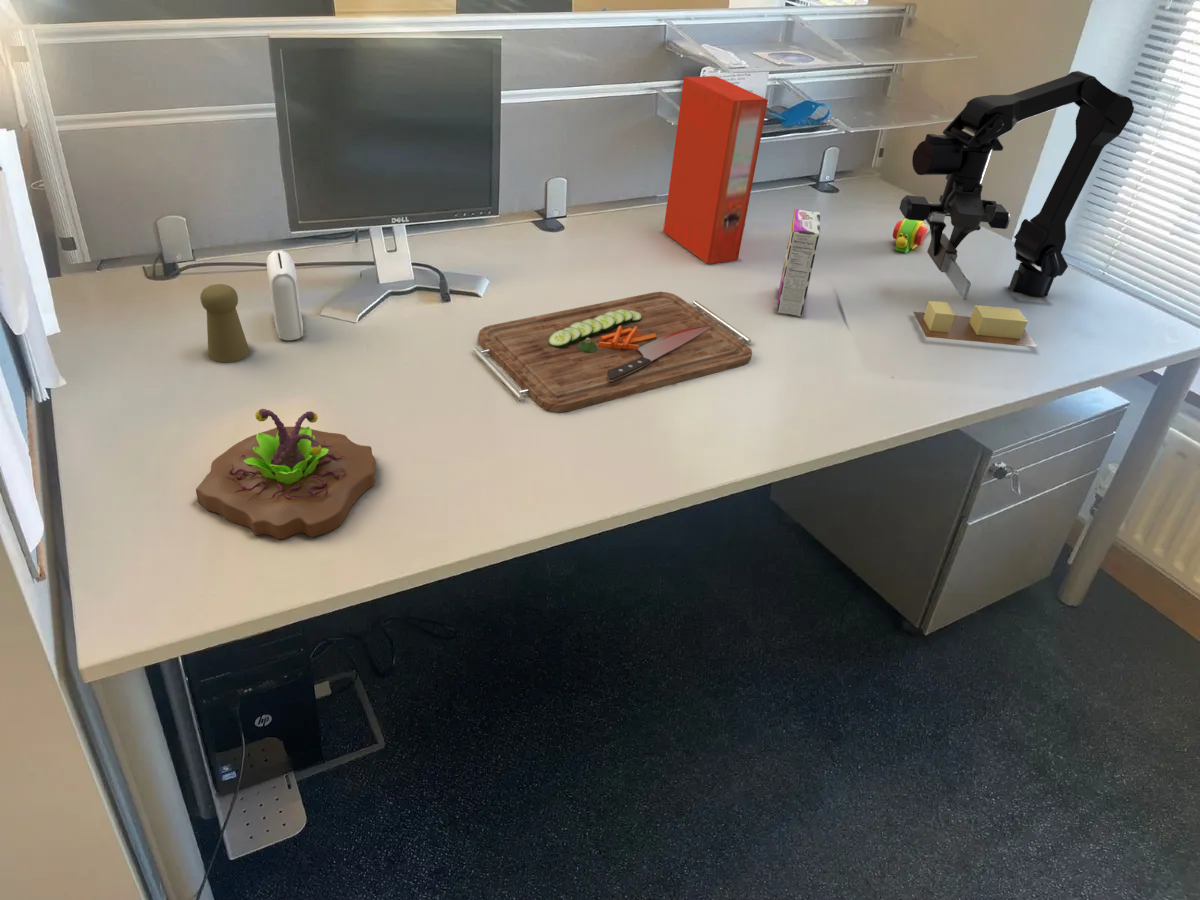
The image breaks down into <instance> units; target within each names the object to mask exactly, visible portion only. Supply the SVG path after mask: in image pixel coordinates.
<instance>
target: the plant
mask: <svg viewBox="0 0 1200 900" xmlns="http://www.w3.org/2000/svg"><path fill="white" fill-rule="evenodd" d="M254 416H255V420H257V421H258V422H265V421H266V420H268V418H269V417H271V420H272V421H273V422H274V425H276V427H274V428H271V429H267V430H265V431H261V432H258V433H256V434H253V435H251V436H248V437H246V438H244V439H242V440H241V441H238V442H237V443H235V444H233V445H232V446H231V447H230V448H228V449H226V451H224V452H223V453H221V454H220V455H219V456H217V457H216V458H215V459H214V460H212V462H211V466H210V471H209V472H208V474H207V475H206V476H205V477H204V478H203V480H202V481H201V482H200V483H199V484H198V485H197V487H196V488H195V493H196V499H197V504H198V503H199V504H200V505H201V506H202V507H203V508H204V509H205V510H207V511H209V512H211V513H216V514H218V515H220V516H222V517H223V518H224V519H226V520H227V521H229V522H231V523H234V524H237V525H240V526H243V527H247V528H249V529H250V530H252V532H253V534H254V535H255V536H259V535H268V536H271V537H273V538H275V539H277V540H284V539H287V538H290V537H292V536H295V535H297V534H305V535H307V536H309V537H311V538H314V537H318V536H321V535H324V534H327V533H330V532H331V531H334V530H335V529H337V528H338V527H340V526H341V524H343V522H344V521H345V520H346V518H347V516H348V515H349V513H350V511H351V508H352V507H353V506H354V505H355V503H356V502H357V500H359V499H360V497H361V496H363V494H364V493H365V492H366V491H367V490H370V488H372V487H374V486H375V484H376V476H377V464H376V463H377V462H376V458H375V456H374V454H373V448H372V447H371V446H370V445H361V444H358V443H355V442H353V441H352V440H350V438H349V437H348V436H347V435H346V434H342V433H337V432H328V431H323V430H317V429H313V428H311V427H310V426H306V427H305V426H304V427H303V426H302V424H303V422H304V421H305V420H306V421H308V422H309V423H317V421H318V417H319V416H318V414H317V413H316V412H315V411H311V410H309V411H305V413H303V414H302V415H300V417H298V418H297V421H296V422H295V425H294V426H285V424H284V422H282V421H281V420H280V418H279V417H278V414H276V413H274V412H273V411H272V410H270V409H267V408H261V409H258V410H257V411H256V412H255V415H254Z"/></svg>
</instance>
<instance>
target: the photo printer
mask: <svg viewBox="0 0 1200 900" xmlns="http://www.w3.org/2000/svg"><path fill="white" fill-rule="evenodd" d="M266 272H267V280H268V288H269V293H270V294H269V295H270V302H271V308H272V309H271V310H272V315H273V319H274V325H275V329H276V332H277V336H278V337H279V339H282V340H283V341H295V340H298V339H300V338H301V337H303V335H304V324H303V317H302V309H301V303H300V302H301V301H300V294H299V286H298V277H297V271H296V265H295V262H294V259H293V258H292V256H291V255H290V253H288V252H287V251H285V250H283V249H279V250H273V251H272V252H270V253H269V255H268V256H267V258H266Z"/></svg>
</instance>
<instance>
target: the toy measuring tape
mask: <svg viewBox="0 0 1200 900" xmlns="http://www.w3.org/2000/svg"><path fill="white" fill-rule="evenodd" d="M928 232H930V226H929V224H925V223H924V221H917V220H908V219H906V218H905V217H904V218H903V220H899V221H897V222H896V224H895V226H894V228H893V232H892V238H893V239H894V240H895V247H894V251H897V252H900V253H904V254H907V253H908V252H909V251H910V250H914V249H916V248H917V247H918V246H922V245H923V243H924V242H925V239H926V237H927V234H928Z"/></svg>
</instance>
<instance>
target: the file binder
mask: <svg viewBox="0 0 1200 900" xmlns="http://www.w3.org/2000/svg"><path fill="white" fill-rule="evenodd" d="M768 102H769V99H767V98H765V97H763V96H760V95H758V94H756V93H755V92H752V91H750V90H748V89H745V88H743V87H741V86H739V85H736V84H734V83H732V82H730V81H728V80H726V79H724V78H721V77H718V76H717V75H707V76H706V75H705V76H684V77H683V82H682V87H681V96H680V104H679V112H678V119H677V127H676V133H675V141H674V148H673V155H672V156H673V157H672V163H671V170H670V171H671V172H670V178H669V185H668V193H667V202H666V209H665V216H664V222H663V223H664V224H663V230H662V232H663V233H665V235H667V236H668V237H669V238H670V239H672V240H674V241H675V242H677V243H678V244H679V245H681V246H682V247H683V248H685V249H686V250H687V251H689V252H690V253H692V254H693V255H695V256H696V257H698V258H699V259H700V260H701V261H703V262H704V263H706V264H708V265H714V264H721V263H727V262H728V263H729V262H734V261H738V259H739V257H740V252H741V247H742V241H743V236H744V230H745V227H746V226H745V225H746V221H747V220H746V219H747V214H748V209H749V204H750V198H751V193H752V188H753V182H754V177H755V172H756V168H757V167H756V166H757V161H758V156H759V150H760V145H761V139H762V135H763V134H762V133H763V130H764V129H763V128H764V123H765V118H766V112H767V107H768Z"/></svg>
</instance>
